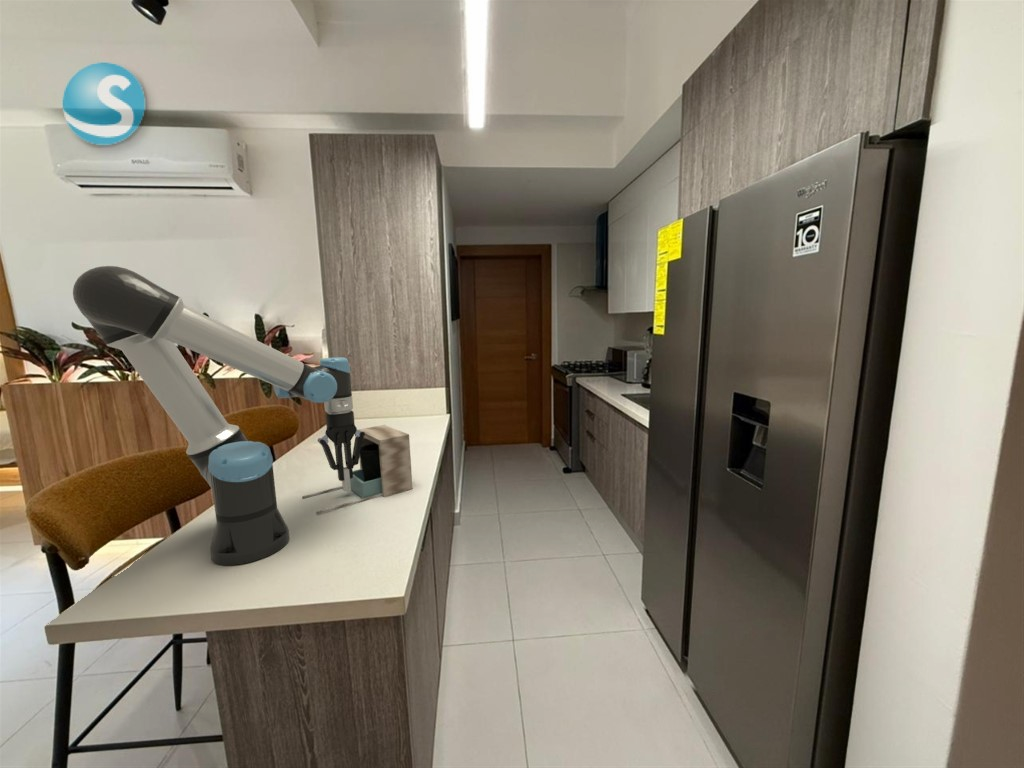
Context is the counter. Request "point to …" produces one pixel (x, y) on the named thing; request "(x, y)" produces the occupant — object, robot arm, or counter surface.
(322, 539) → the counter surface
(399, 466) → the sliding drawer cabinet
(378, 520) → the counter surface
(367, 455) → the cup
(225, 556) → the robot arm
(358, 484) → the tray
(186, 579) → the counter surface
